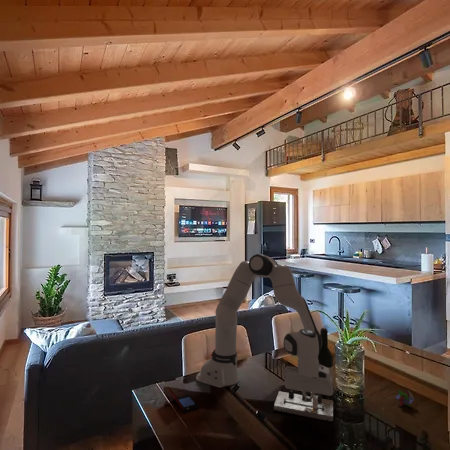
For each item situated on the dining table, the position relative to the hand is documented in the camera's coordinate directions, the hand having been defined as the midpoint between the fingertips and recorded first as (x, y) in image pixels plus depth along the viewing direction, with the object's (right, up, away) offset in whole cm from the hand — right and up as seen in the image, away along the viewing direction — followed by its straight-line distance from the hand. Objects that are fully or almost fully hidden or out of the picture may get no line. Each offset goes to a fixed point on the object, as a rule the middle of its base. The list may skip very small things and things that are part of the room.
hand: (308, 401), depth 132 cm
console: (-1, -4, +2) cm, 5 cm away
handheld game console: (-55, -4, +4) cm, 55 cm away
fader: (+3, -2, -1) cm, 3 cm away
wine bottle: (+13, -5, +18) cm, 22 cm away
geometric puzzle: (+44, -5, +5) cm, 44 cm away
